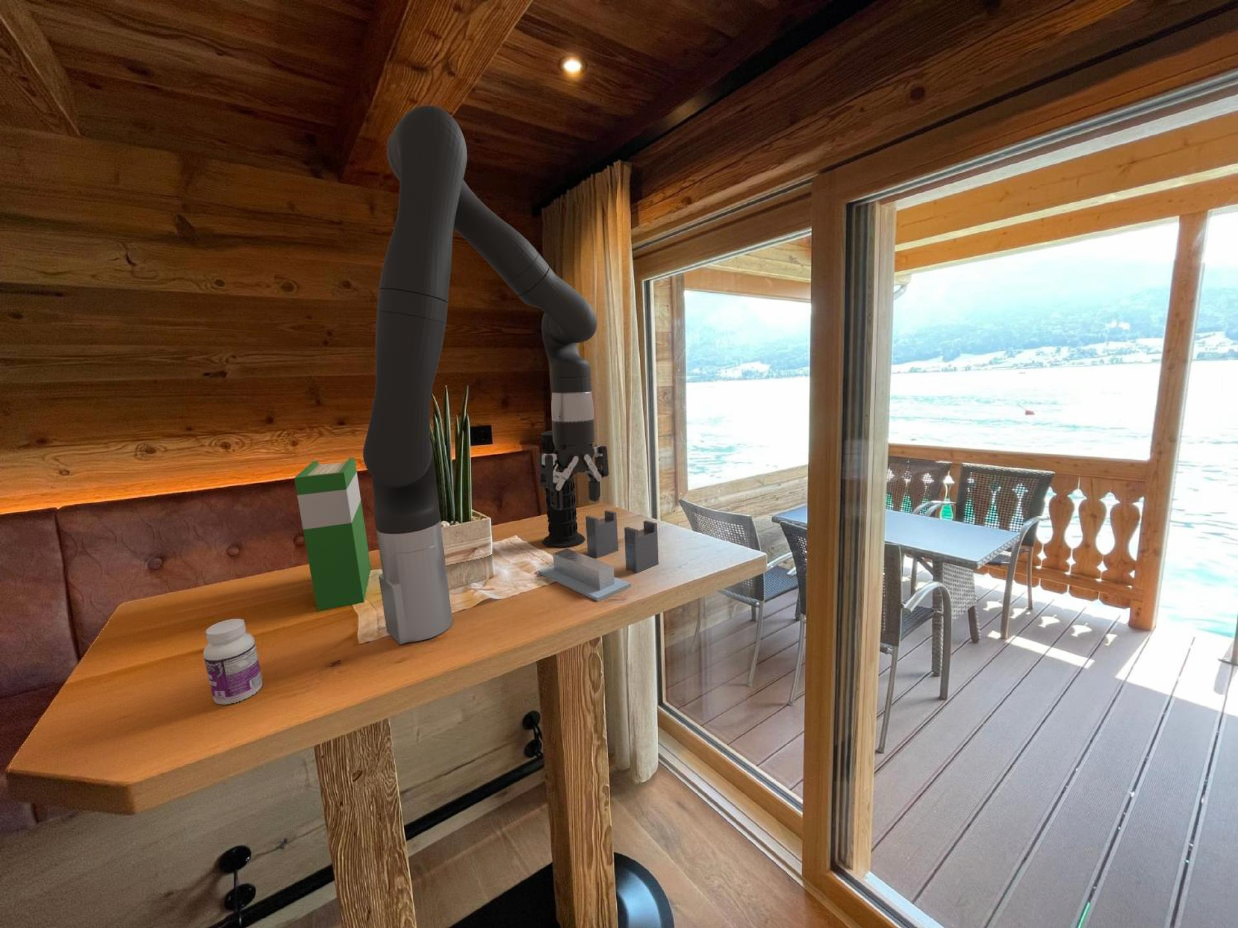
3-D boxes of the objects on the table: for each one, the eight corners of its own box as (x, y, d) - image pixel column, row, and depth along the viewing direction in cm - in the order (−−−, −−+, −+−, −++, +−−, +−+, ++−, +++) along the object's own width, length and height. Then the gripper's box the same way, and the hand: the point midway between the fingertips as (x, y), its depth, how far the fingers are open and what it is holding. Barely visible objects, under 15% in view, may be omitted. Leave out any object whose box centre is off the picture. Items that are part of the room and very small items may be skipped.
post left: (596, 558, 109) (594, 519, 107) (587, 554, 111) (585, 516, 109) (618, 550, 113) (616, 512, 111) (609, 547, 115) (607, 509, 113)
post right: (636, 573, 100) (634, 530, 98) (626, 569, 102) (624, 527, 100) (658, 563, 104) (657, 523, 102) (647, 560, 106) (646, 520, 104)
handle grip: (552, 532, 127) (534, 546, 117) (544, 426, 122) (525, 431, 112) (591, 534, 124) (575, 549, 114) (584, 425, 119) (567, 431, 109)
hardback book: (331, 575, 106) (313, 461, 102) (371, 568, 109) (354, 457, 104) (317, 611, 90) (294, 477, 86) (363, 602, 93) (343, 472, 88)
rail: (600, 590, 92) (598, 571, 91) (554, 569, 102) (552, 553, 101) (614, 584, 94) (613, 566, 93) (568, 564, 104) (567, 548, 103)
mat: (597, 601, 89) (597, 597, 89) (538, 573, 102) (538, 570, 102) (630, 586, 94) (630, 583, 94) (571, 561, 107) (570, 559, 107)
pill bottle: (206, 697, 67) (191, 629, 65) (252, 676, 71) (239, 612, 69) (223, 711, 64) (208, 640, 62) (270, 688, 68) (257, 621, 66)
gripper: (552, 422, 85) (557, 517, 88) (616, 415, 94) (618, 501, 97) (527, 419, 90) (532, 509, 93) (589, 413, 100) (592, 494, 103)
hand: (576, 504), depth 95 cm, fingers open, 8 cm apart
